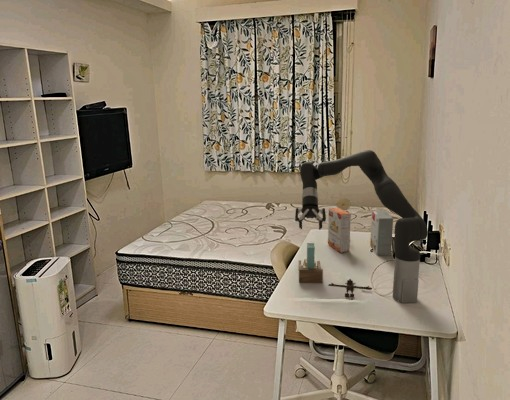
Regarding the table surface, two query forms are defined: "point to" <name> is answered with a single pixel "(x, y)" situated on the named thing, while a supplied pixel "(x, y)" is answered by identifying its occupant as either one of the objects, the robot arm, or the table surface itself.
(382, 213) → the hard drive box
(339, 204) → the flower in vase
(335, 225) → the cracker box
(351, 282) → the long-limbed plush toy
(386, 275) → the table surface
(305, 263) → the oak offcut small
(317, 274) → the walnut rack
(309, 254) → the teal board
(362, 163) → the robot arm
